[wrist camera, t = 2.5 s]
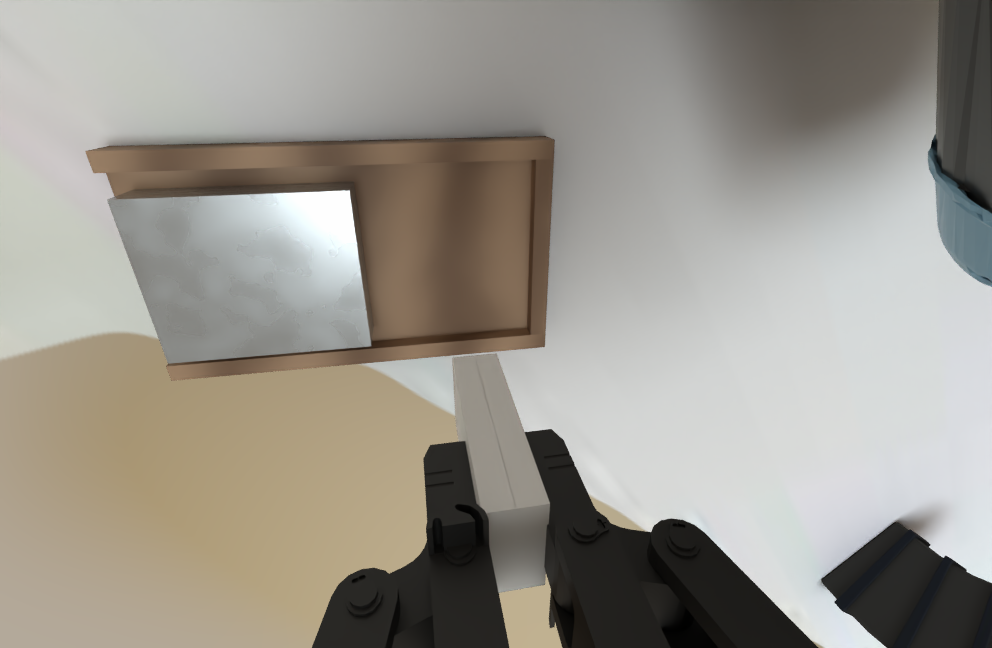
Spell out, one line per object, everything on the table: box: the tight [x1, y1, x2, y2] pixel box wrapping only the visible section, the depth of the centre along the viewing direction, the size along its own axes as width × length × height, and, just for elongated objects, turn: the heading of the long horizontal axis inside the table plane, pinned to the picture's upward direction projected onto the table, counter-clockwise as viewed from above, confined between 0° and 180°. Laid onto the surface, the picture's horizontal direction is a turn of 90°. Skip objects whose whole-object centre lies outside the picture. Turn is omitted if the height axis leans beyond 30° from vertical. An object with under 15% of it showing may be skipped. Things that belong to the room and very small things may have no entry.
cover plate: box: [107, 182, 374, 364], centre depth 26 cm, size 11×9×2 cm
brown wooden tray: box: [85, 136, 555, 381], centre depth 28 cm, size 23×13×2 cm, turn 90°
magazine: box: [822, 523, 992, 648], centre depth 49 cm, size 4×13×15 cm, turn 143°
